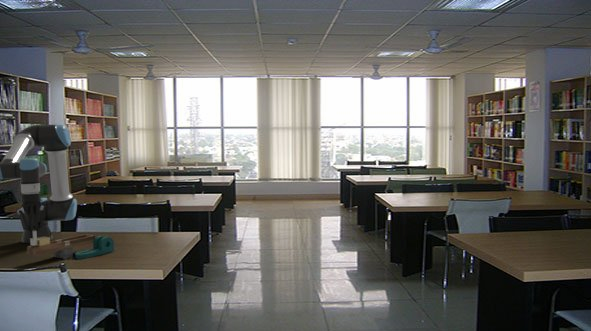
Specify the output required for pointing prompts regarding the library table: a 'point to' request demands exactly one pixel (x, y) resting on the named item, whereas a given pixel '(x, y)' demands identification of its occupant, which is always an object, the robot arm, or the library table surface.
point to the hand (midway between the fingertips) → (33, 244)
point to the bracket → (97, 248)
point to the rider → (42, 241)
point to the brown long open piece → (62, 246)
